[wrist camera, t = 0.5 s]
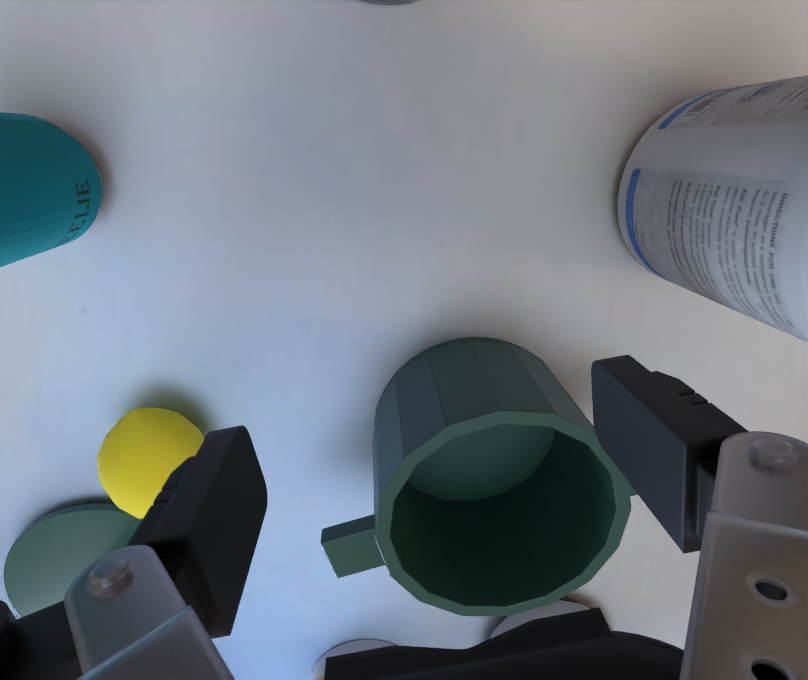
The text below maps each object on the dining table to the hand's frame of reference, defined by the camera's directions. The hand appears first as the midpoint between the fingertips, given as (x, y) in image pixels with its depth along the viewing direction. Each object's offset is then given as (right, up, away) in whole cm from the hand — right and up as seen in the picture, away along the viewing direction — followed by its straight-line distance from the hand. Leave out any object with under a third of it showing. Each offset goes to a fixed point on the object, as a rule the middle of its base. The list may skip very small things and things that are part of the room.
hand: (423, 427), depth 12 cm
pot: (+4, -3, +20) cm, 20 cm away
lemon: (-14, -4, +19) cm, 24 cm away
